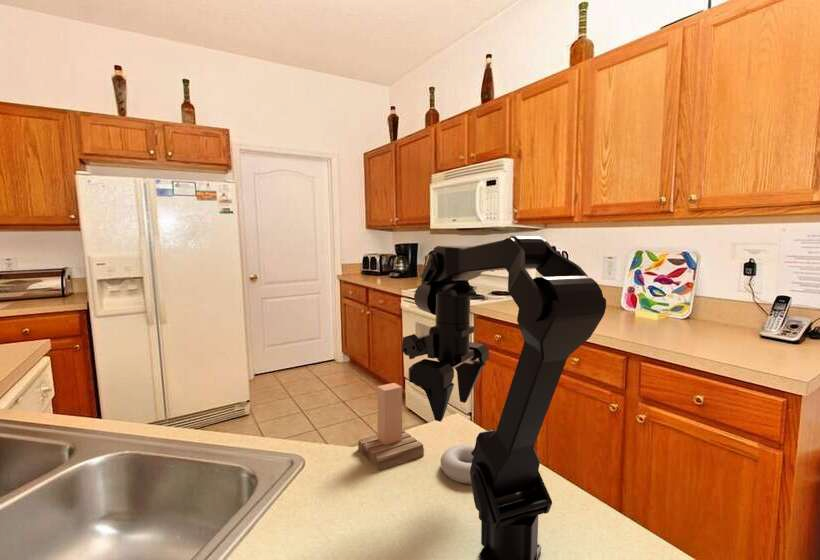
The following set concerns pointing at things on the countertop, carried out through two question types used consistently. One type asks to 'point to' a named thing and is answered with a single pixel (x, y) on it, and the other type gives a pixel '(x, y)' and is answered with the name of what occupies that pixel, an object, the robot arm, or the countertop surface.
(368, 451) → the stacked wooden slats
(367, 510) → the countertop surface
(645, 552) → the countertop surface
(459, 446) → the donut
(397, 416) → the clay bar
